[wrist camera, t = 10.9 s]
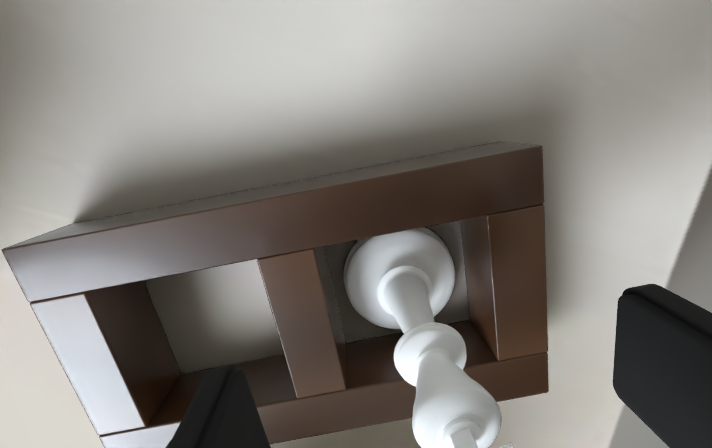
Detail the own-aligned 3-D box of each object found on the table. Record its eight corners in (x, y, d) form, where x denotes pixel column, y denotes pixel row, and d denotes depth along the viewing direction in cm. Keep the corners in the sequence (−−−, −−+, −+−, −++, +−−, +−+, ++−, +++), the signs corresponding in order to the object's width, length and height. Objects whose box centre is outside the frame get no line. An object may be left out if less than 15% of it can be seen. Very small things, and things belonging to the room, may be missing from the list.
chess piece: (467, 295, 16) (669, 562, 6) (372, 338, 16) (419, 651, 7) (427, 202, 14) (604, 358, 5) (324, 251, 15) (295, 486, 5)
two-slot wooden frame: (70, 224, 14) (-1, 249, 11) (500, 141, 14) (543, 145, 11) (155, 414, 17) (116, 473, 14) (513, 346, 17) (549, 393, 14)
